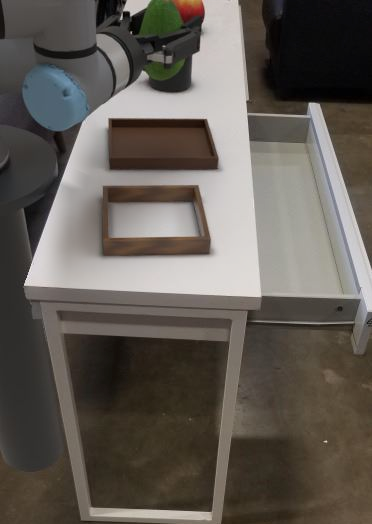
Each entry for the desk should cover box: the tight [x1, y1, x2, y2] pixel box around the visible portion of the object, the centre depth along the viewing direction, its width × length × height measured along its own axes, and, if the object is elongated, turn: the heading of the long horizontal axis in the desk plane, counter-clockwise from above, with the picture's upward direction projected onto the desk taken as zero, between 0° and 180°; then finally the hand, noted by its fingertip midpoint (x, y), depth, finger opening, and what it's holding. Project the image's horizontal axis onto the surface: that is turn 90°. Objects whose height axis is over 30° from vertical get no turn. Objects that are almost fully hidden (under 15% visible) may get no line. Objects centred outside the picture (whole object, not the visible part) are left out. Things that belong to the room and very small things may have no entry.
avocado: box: [139, 0, 185, 81], centre depth 91 cm, size 8×8×12 cm
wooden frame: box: [102, 184, 212, 256], centre depth 89 cm, size 16×16×2 cm
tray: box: [107, 117, 220, 170], centre depth 107 cm, size 19×16×2 cm
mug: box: [142, 55, 193, 93], centre depth 126 cm, size 9×12×9 cm
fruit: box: [172, 0, 206, 24], centre depth 150 cm, size 11×11×10 cm
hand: (175, 20), depth 93 cm, fingers closed on avocado, 8 cm apart
